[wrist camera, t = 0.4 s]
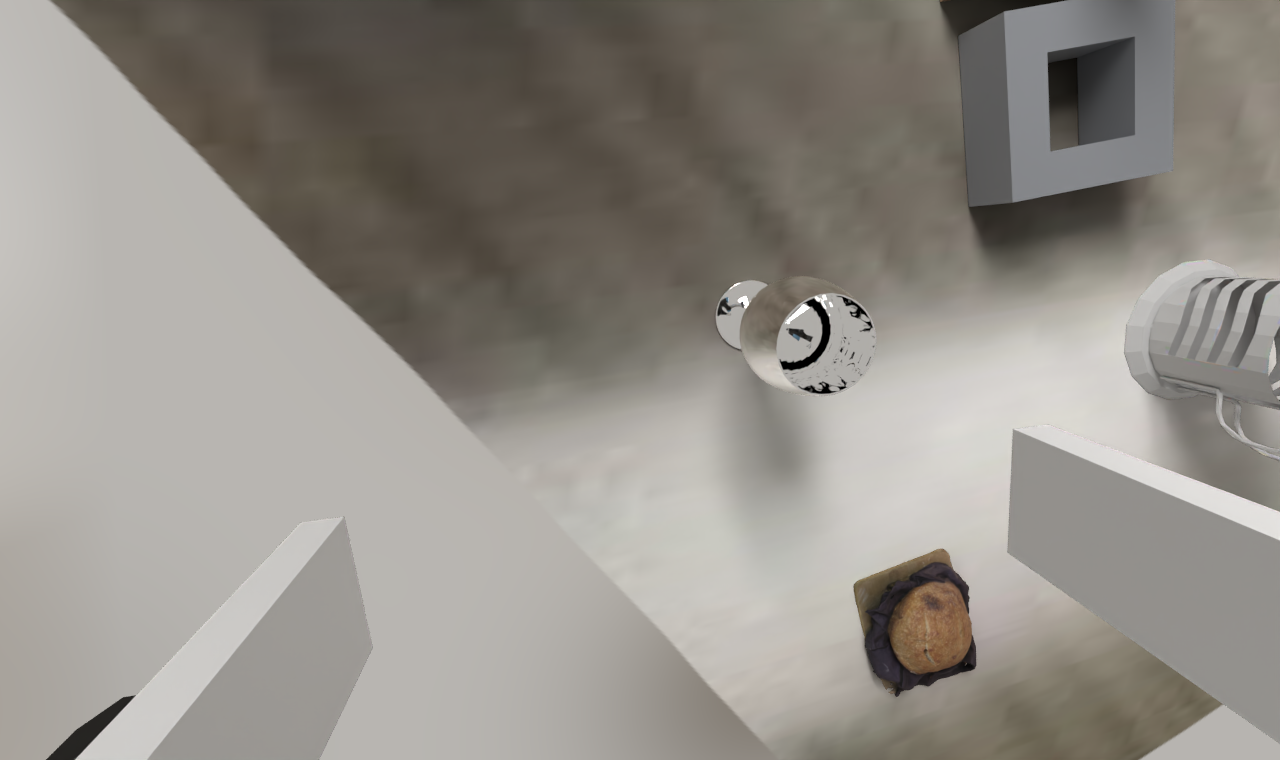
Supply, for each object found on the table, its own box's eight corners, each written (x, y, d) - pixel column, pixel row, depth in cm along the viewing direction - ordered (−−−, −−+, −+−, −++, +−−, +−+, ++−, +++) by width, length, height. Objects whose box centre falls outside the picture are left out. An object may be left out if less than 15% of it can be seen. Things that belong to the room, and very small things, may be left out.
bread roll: (841, 578, 45) (865, 607, 41) (949, 539, 45) (982, 564, 42) (875, 696, 47) (900, 733, 44) (977, 658, 48) (1011, 691, 44)
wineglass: (744, 250, 38) (821, 252, 27) (811, 306, 40) (913, 332, 28) (686, 324, 39) (737, 358, 27) (754, 377, 40) (831, 432, 28)
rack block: (958, 35, 37) (1003, 11, 33) (1112, 8, 38) (1175, -19, 34) (968, 206, 39) (1012, 202, 35) (1114, 177, 40) (1172, 170, 36)
